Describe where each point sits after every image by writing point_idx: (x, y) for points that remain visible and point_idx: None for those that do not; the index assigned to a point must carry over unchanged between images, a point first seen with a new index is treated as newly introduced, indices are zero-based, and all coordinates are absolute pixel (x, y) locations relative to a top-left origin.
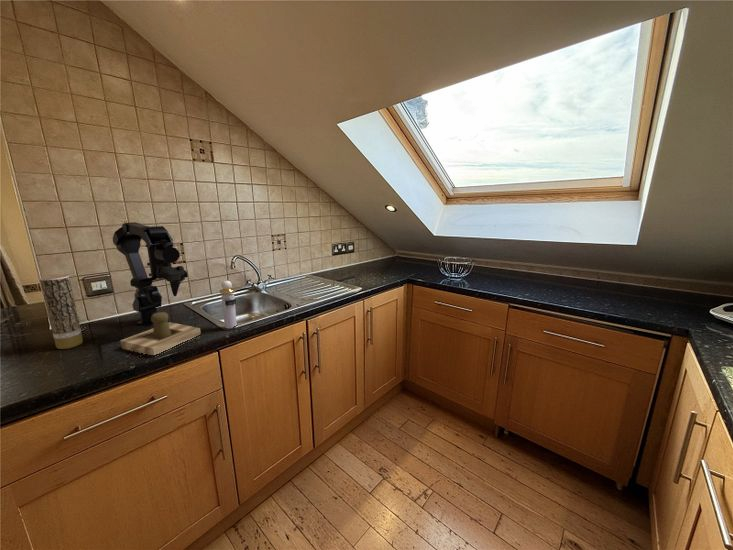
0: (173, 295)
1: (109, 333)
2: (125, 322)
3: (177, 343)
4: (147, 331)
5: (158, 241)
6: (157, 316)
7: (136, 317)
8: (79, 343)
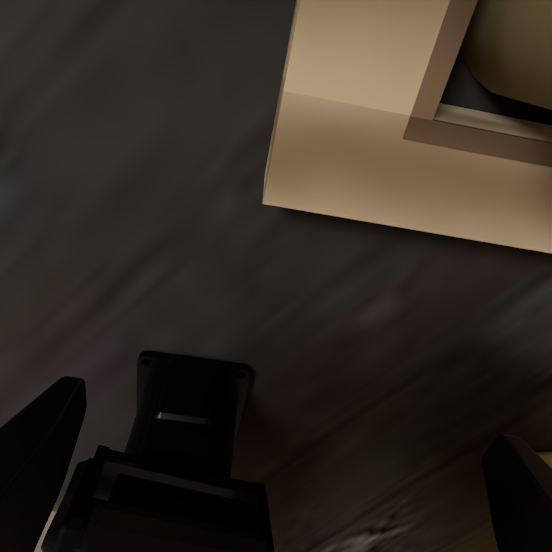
0: (82, 419)
1: (386, 445)
2: None
3: None
4: (499, 225)
5: None
6: None
7: None
8: (546, 456)
